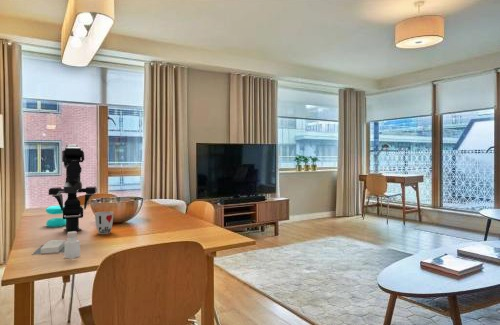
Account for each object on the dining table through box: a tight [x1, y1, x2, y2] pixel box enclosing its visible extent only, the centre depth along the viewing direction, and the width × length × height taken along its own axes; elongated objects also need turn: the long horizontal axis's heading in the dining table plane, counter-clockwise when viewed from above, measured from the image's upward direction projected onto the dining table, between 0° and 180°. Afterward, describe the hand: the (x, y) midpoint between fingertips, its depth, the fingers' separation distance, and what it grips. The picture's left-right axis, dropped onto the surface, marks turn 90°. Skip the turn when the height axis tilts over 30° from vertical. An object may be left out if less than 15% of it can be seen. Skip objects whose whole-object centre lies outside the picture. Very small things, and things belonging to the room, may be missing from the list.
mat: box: [31, 244, 65, 256], centre depth 140 cm, size 14×12×1 cm
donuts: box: [45, 205, 66, 228], centre depth 186 cm, size 10×10×10 cm
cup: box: [94, 211, 114, 235], centre depth 168 cm, size 8×8×10 cm
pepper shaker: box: [64, 231, 81, 260], centre depth 129 cm, size 4×4×10 cm
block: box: [40, 239, 66, 255], centre depth 139 cm, size 2×6×12 cm
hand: (73, 209), depth 158 cm, fingers open, 9 cm apart
